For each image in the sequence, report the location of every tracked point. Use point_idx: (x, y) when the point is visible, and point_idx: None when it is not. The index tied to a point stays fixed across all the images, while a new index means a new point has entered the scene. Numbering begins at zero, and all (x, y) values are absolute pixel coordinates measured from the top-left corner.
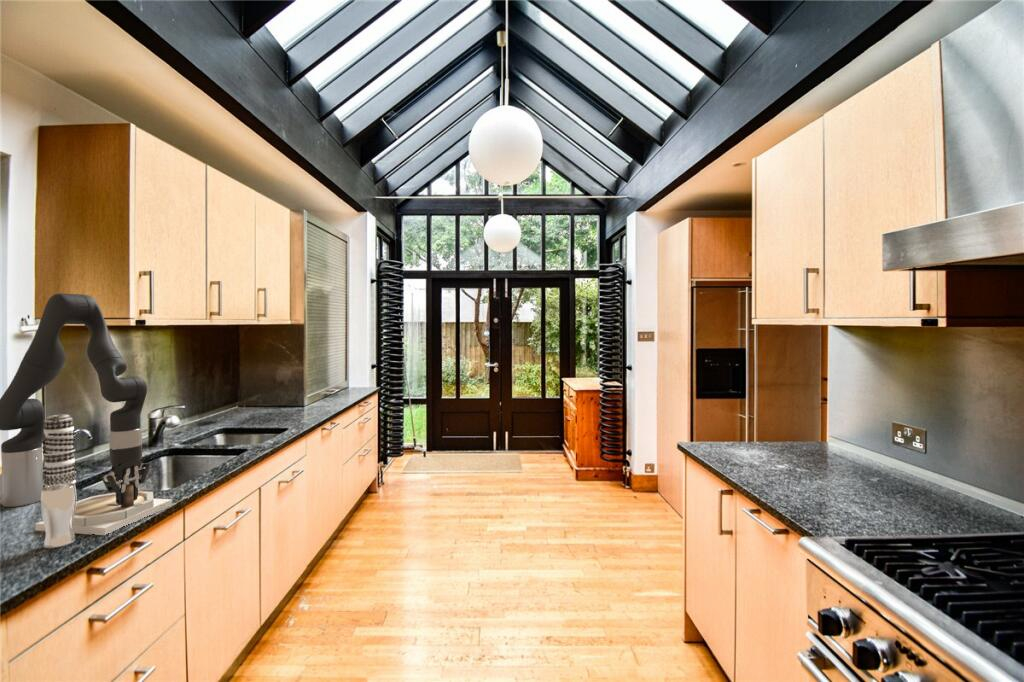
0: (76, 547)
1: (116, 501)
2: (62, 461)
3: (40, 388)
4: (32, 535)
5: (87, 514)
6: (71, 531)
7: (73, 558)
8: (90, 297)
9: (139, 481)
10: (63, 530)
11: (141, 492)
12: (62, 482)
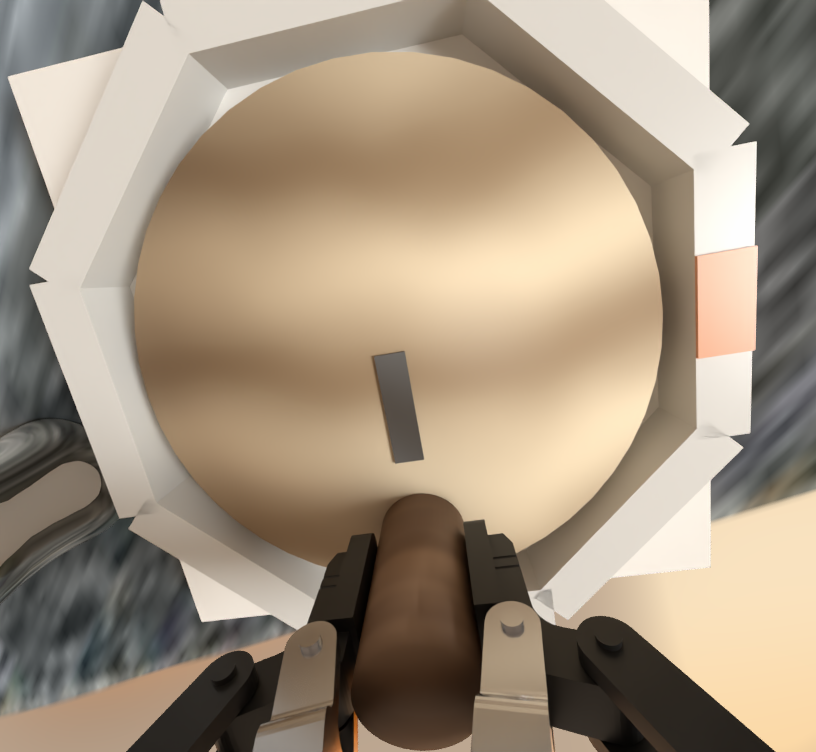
0: (91, 597)
1: (328, 572)
2: None
3: None
4: (24, 186)
5: (191, 430)
6: (49, 562)
7: (40, 685)
8: None
9: (584, 724)
10: None
11: (711, 355)
12: None
